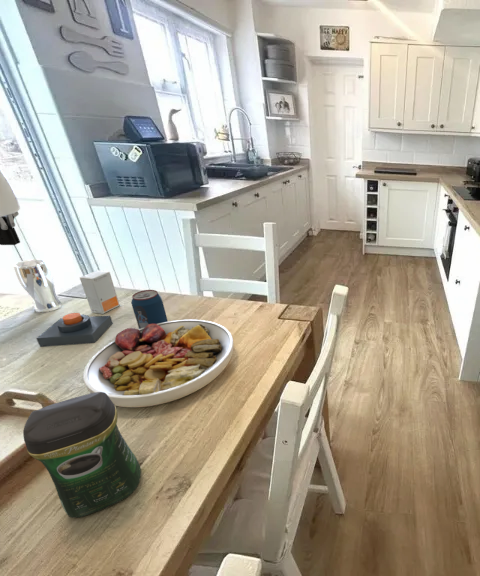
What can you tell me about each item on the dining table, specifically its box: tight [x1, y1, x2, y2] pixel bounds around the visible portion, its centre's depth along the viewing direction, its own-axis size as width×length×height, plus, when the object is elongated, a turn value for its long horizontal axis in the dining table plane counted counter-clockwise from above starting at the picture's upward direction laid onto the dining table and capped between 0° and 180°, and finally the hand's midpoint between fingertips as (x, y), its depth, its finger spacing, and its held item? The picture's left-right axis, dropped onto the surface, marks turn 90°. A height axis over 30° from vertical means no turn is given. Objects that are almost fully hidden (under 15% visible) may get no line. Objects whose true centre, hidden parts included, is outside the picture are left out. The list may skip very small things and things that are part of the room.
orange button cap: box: [62, 312, 82, 325], centre depth 88 cm, size 4×4×2 cm
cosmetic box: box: [79, 269, 120, 315], centre depth 100 cm, size 6×4×12 cm
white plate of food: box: [82, 319, 235, 408], centre depth 78 cm, size 30×30×8 cm
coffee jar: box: [22, 392, 142, 519], centre depth 49 cm, size 10×8×19 cm
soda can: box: [130, 289, 169, 329], centre depth 91 cm, size 7×7×12 cm
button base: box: [36, 313, 114, 348], centre depth 89 cm, size 12×10×4 cm
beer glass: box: [12, 258, 63, 314], centre depth 97 cm, size 7×7×15 cm
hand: (10, 243), depth 80 cm, fingers closed
